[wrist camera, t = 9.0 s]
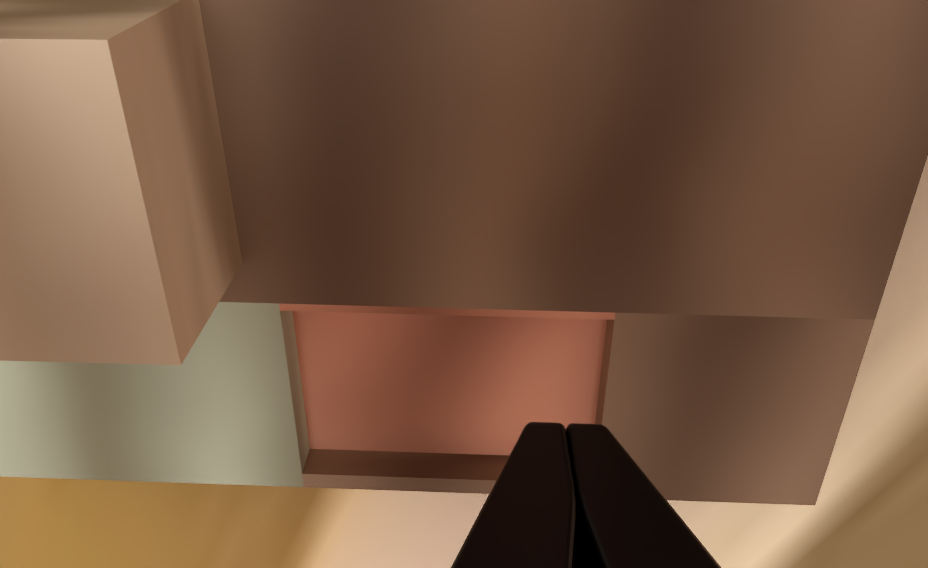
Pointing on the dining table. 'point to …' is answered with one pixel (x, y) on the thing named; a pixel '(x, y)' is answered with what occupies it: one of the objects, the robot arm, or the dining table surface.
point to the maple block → (109, 182)
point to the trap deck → (523, 246)
